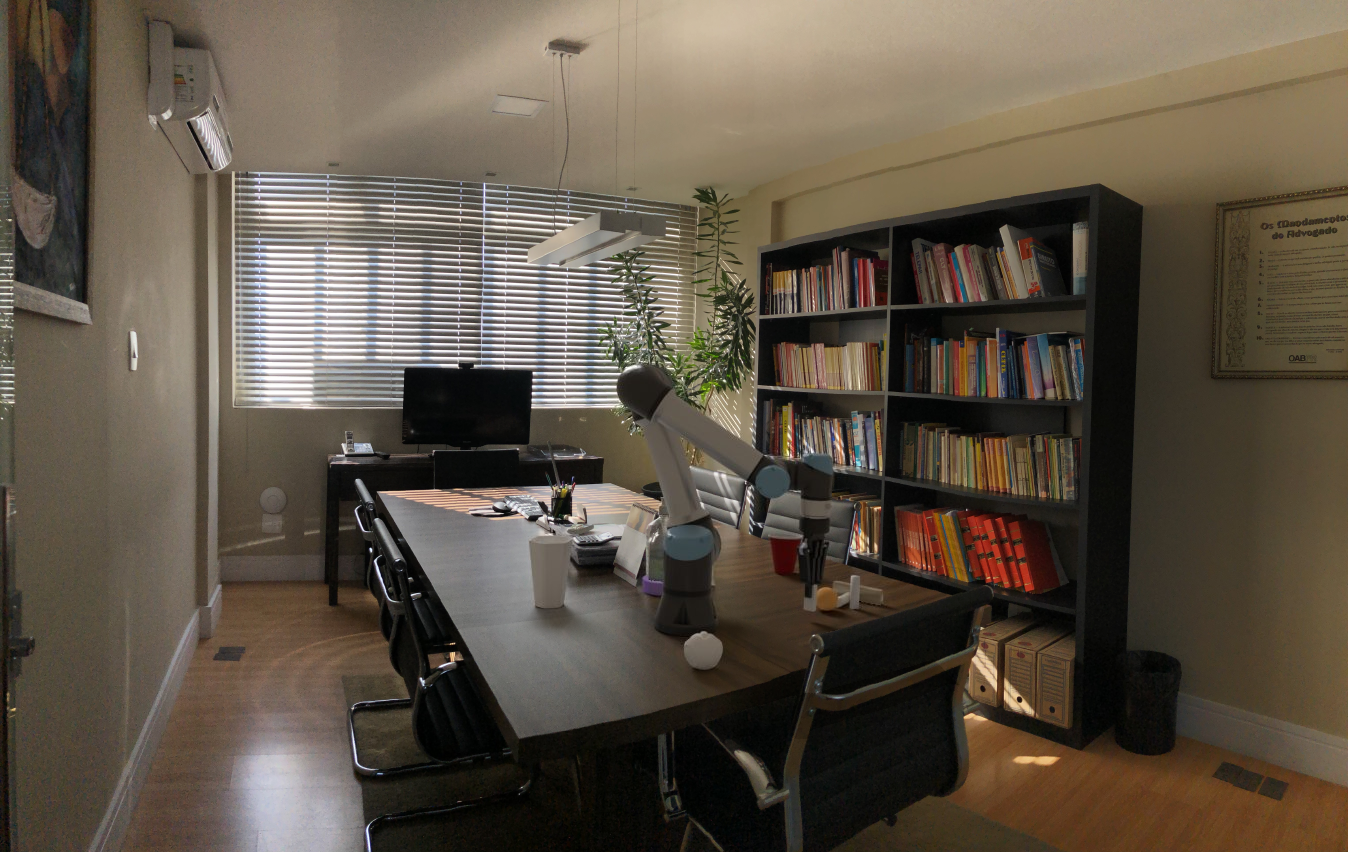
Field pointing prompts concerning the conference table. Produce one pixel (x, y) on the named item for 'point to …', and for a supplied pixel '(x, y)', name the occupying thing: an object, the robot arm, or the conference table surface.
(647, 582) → the masking tape
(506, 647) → the conference table surface
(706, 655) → the white round lump
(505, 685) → the conference table surface
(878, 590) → the stop wall
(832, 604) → the ball
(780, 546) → the plastic cup
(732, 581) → the conference table surface
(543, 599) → the cup
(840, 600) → the pin
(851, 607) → the pin
